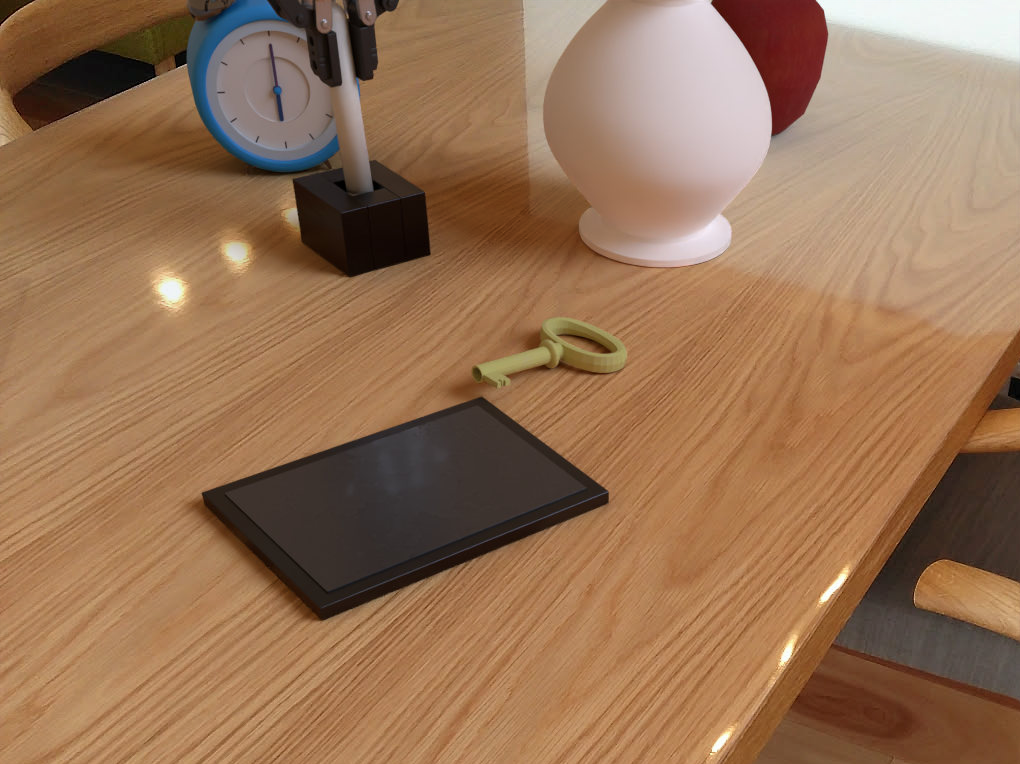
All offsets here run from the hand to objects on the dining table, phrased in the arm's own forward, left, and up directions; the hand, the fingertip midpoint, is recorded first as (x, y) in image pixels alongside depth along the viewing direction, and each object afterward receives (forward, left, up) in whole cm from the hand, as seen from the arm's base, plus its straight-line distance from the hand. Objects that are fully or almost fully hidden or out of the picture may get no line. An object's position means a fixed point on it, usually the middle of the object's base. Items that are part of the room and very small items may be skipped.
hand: (346, 79), depth 105 cm
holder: (0, 0, -13) cm, 13 cm away
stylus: (0, 0, -9) cm, 9 cm away
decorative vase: (+21, -10, -13) cm, 26 cm away
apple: (+44, +3, -13) cm, 46 cm away
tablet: (-16, -32, -13) cm, 38 cm away
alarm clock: (+3, +18, -13) cm, 22 cm away
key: (+1, -23, -13) cm, 26 cm away
